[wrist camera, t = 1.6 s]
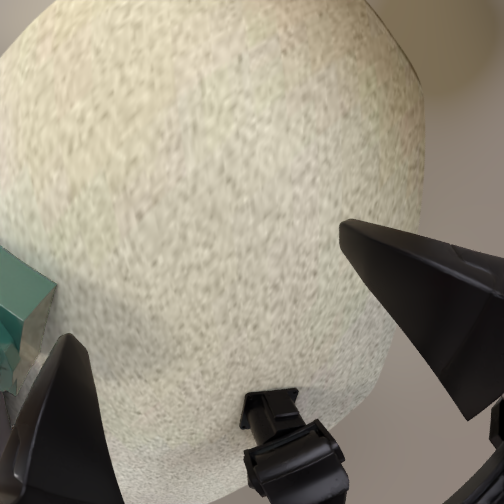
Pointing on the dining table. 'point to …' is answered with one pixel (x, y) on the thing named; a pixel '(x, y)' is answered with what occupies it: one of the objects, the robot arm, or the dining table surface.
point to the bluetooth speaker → (4, 424)
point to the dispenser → (21, 318)
